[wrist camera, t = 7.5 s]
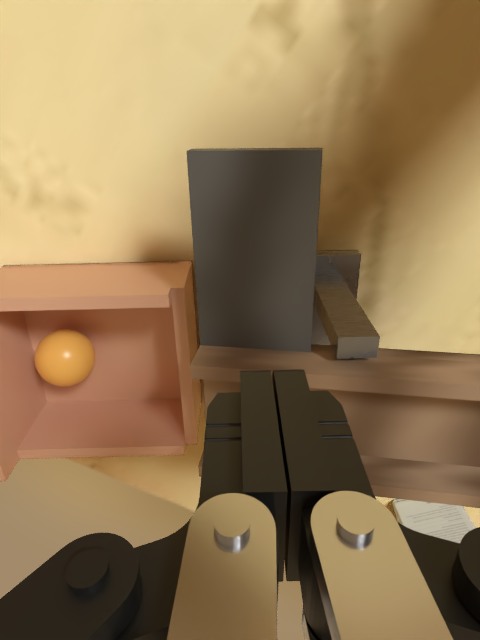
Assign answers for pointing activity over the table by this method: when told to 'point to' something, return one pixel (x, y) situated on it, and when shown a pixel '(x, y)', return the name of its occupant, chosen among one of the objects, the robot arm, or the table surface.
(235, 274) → the lever trough
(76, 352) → the ball
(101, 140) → the table surface
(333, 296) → the lever stand
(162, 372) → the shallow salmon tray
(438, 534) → the skincare box
